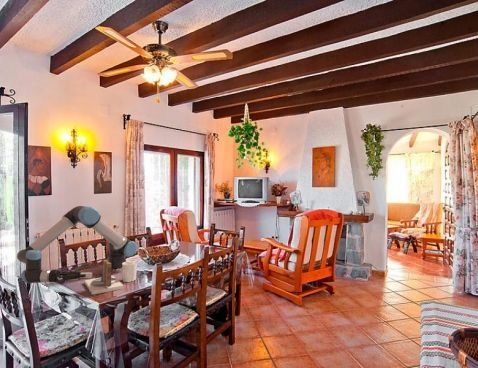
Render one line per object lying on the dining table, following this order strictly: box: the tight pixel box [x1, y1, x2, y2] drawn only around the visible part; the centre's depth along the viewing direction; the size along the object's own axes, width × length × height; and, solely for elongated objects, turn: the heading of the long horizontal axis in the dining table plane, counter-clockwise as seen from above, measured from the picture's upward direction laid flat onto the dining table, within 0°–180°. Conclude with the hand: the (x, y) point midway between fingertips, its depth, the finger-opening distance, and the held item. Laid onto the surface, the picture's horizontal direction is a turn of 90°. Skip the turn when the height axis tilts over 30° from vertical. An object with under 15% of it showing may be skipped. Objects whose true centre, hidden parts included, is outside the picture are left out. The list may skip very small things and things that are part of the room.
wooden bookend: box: [92, 259, 116, 287], centre depth 185 cm, size 20×14×15 cm
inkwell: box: [67, 262, 95, 281], centre depth 203 cm, size 9×18×10 cm, turn 124°
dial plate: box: [84, 275, 124, 295], centre depth 187 cm, size 18×24×2 cm
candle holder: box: [121, 260, 138, 283], centre depth 199 cm, size 10×10×12 cm
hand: (91, 275), depth 179 cm, fingers closed
